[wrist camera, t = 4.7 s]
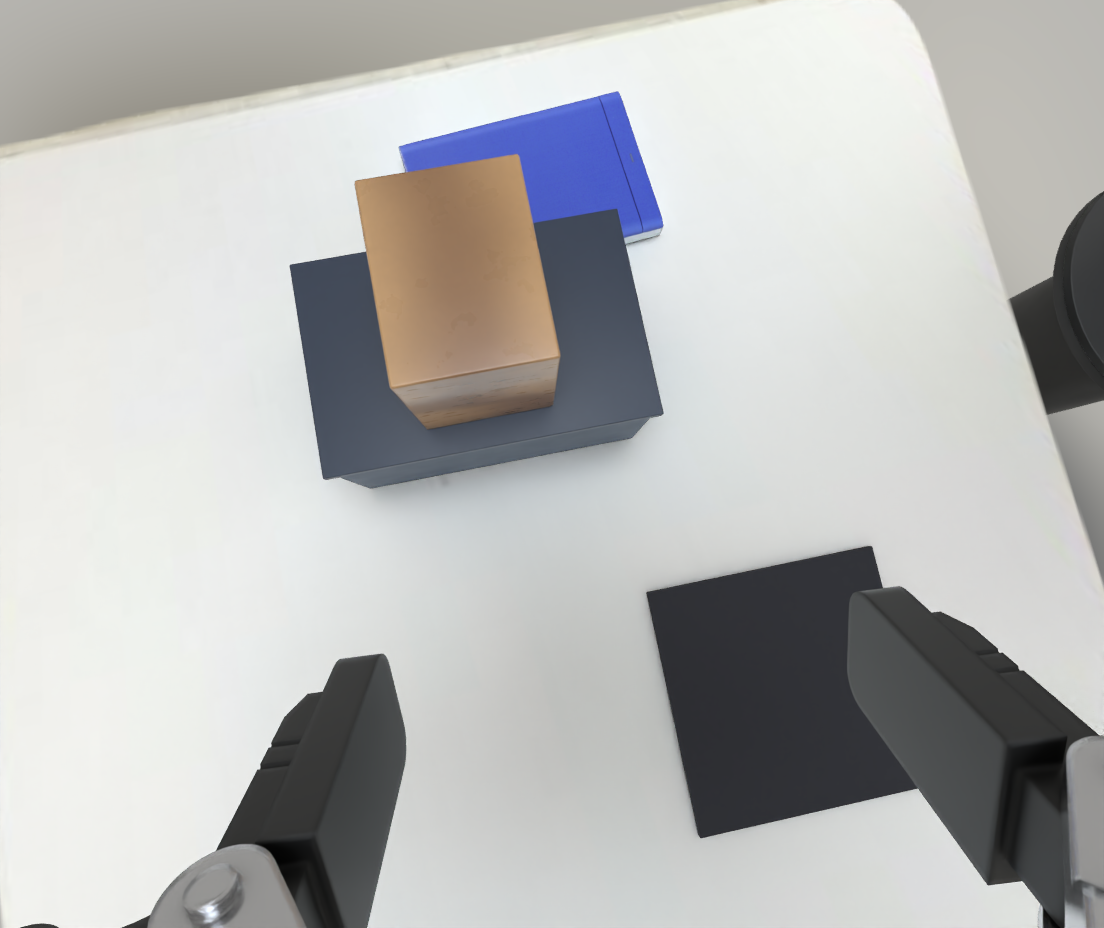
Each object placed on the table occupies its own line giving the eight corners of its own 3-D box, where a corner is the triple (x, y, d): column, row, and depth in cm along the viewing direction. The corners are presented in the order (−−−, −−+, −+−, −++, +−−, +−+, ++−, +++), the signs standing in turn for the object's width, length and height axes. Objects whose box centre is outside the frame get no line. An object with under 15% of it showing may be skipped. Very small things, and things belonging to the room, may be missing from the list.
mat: (868, 546, 34) (872, 546, 33) (929, 781, 32) (934, 784, 32) (646, 592, 33) (647, 592, 33) (698, 835, 32) (700, 838, 31)
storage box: (600, 274, 35) (617, 207, 28) (636, 441, 34) (663, 413, 27) (338, 321, 34) (289, 264, 27) (366, 493, 33) (322, 479, 26)
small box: (522, 250, 28) (518, 152, 21) (553, 406, 27) (561, 357, 20) (398, 272, 27) (353, 179, 21) (426, 430, 27) (389, 389, 20)
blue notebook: (438, 284, 33) (664, 223, 34) (396, 143, 34) (618, 87, 35) (442, 296, 35) (658, 237, 36) (402, 160, 36) (614, 106, 36)
